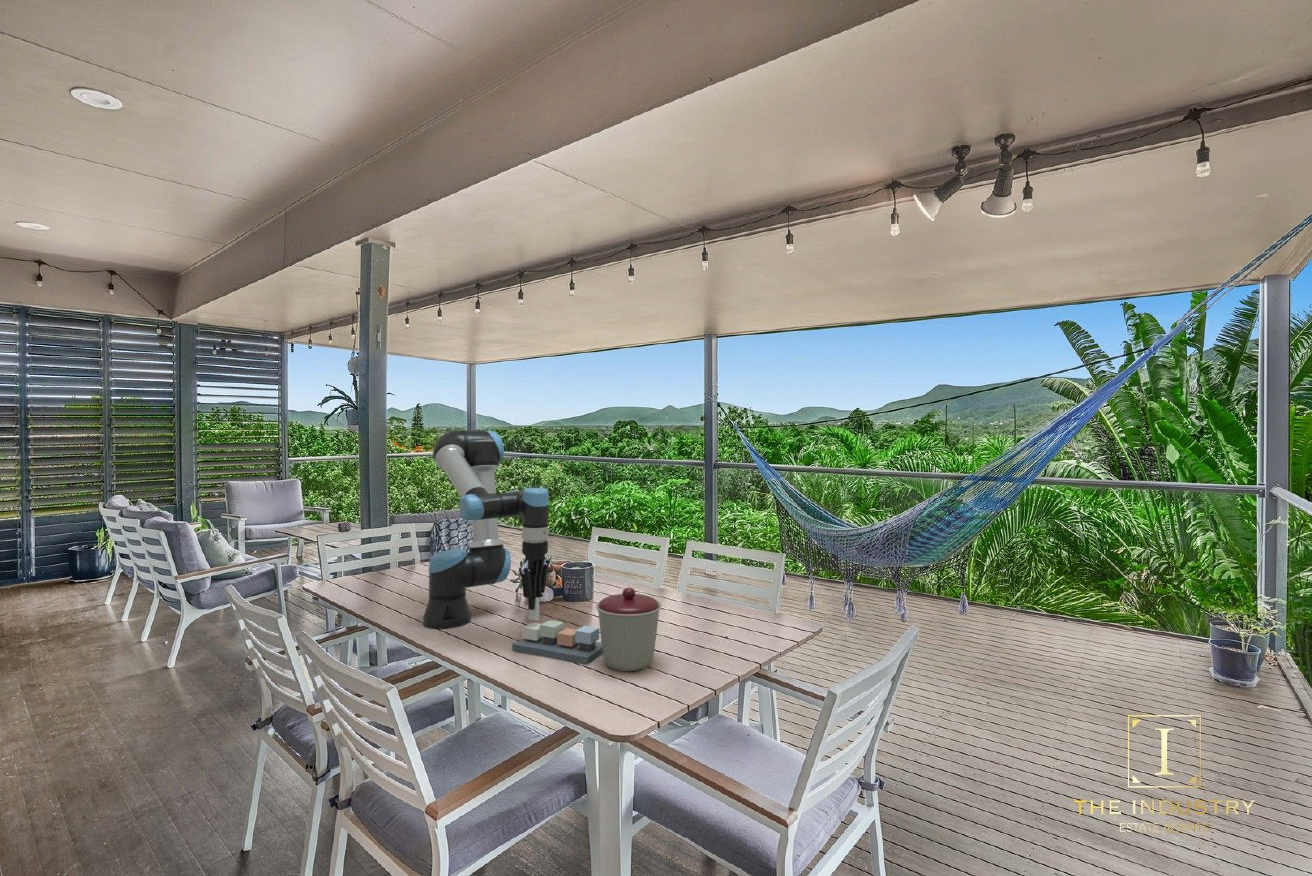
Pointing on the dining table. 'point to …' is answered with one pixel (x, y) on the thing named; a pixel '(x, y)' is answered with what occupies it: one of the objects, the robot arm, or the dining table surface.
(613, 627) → the canister
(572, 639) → the key terracotta
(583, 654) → the keypad board
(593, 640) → the key blue
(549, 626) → the key sage
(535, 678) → the dining table surface
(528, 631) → the key ivory
